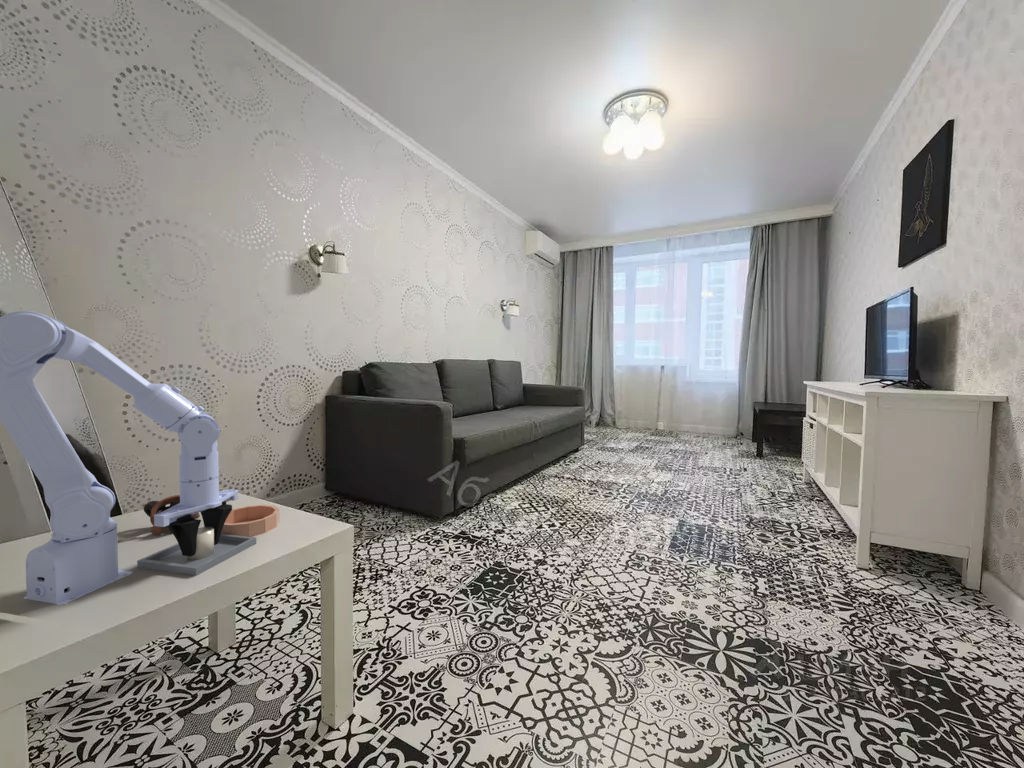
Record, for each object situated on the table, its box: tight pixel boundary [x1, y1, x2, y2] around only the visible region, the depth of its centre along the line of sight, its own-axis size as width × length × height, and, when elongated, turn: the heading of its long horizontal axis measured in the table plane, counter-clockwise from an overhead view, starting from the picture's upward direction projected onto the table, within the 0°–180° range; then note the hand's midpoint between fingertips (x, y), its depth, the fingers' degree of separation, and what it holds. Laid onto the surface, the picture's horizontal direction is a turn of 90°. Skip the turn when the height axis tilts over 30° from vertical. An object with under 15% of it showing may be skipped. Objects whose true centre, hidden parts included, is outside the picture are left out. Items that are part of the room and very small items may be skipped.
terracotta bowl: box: [221, 504, 281, 537], centre depth 86 cm, size 12×12×4 cm
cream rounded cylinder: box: [187, 526, 214, 560], centre depth 74 cm, size 4×4×4 cm
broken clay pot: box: [143, 494, 201, 536], centre depth 86 cm, size 12×10×8 cm
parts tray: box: [136, 534, 257, 577], centre depth 74 cm, size 12×12×2 cm
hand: (200, 549), depth 74 cm, fingers closed on cream rounded cylinder, 4 cm apart
